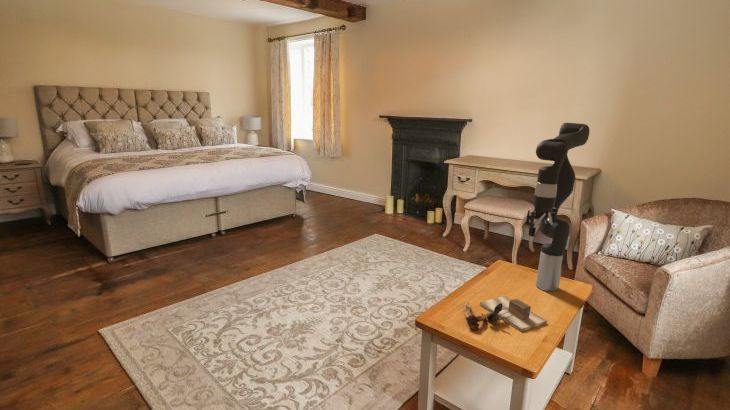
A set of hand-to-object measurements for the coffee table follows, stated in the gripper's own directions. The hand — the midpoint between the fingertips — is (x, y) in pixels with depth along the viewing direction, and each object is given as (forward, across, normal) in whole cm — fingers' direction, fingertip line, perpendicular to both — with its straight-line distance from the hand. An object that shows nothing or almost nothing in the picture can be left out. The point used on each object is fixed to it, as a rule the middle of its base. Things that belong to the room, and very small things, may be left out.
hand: (539, 234), depth 154 cm
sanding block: (+32, +8, +2) cm, 33 cm away
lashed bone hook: (+34, +25, -4) cm, 42 cm away
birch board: (+33, +8, -1) cm, 34 cm away
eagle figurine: (+33, +18, 0) cm, 38 cm away
